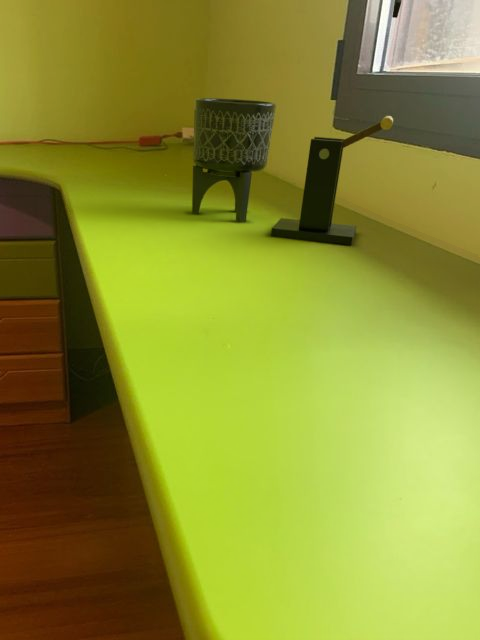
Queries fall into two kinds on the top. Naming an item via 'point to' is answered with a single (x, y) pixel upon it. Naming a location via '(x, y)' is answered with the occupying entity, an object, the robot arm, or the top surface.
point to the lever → (369, 131)
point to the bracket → (319, 198)
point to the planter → (230, 146)
